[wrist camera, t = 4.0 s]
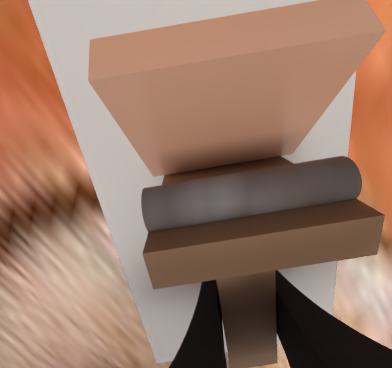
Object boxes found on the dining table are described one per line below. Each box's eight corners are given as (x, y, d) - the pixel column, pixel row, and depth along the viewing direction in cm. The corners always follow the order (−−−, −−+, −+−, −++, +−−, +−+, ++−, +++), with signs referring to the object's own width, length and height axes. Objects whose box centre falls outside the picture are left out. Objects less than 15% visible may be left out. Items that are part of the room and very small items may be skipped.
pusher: (278, 294, 15) (342, 425, 9) (195, 307, 15) (201, 446, 9) (276, 132, 11) (392, 172, 5) (160, 152, 11) (130, 215, 5)
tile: (292, 154, 10) (386, 30, 5) (153, 176, 11) (88, 80, 5) (283, 127, 11) (357, -12, 5) (151, 149, 11) (89, 34, 6)
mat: (326, 331, 17) (329, 336, 17) (157, 357, 17) (156, 363, 17) (365, -95, 8) (373, -104, 8) (21, -34, 9) (13, -40, 8)
